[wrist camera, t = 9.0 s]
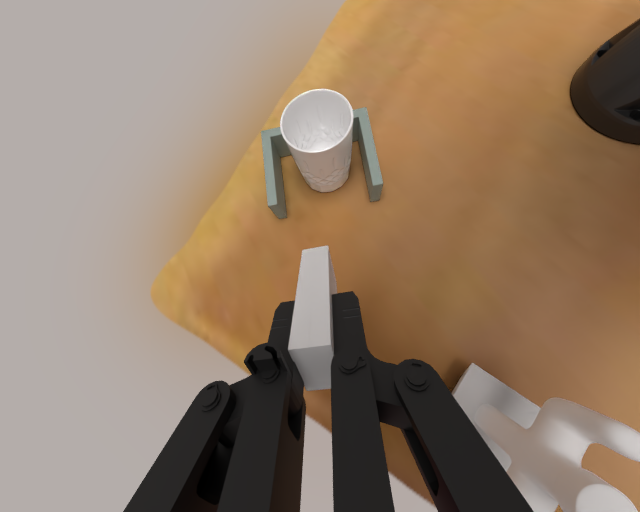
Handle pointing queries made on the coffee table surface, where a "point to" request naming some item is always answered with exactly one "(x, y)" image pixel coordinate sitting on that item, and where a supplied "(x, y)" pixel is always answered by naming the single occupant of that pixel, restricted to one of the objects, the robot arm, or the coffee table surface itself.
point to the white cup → (320, 137)
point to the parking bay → (278, 148)
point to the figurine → (546, 444)
